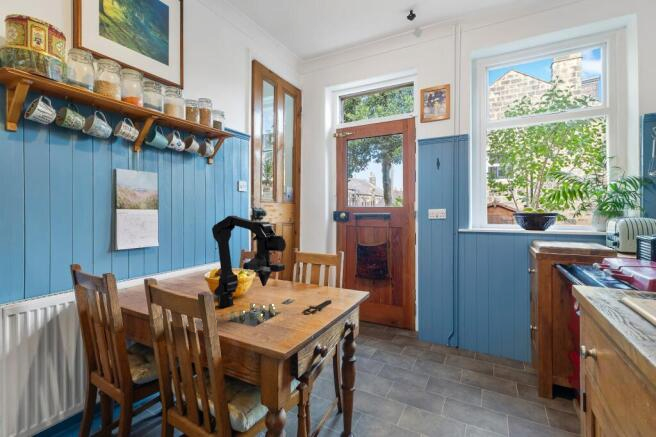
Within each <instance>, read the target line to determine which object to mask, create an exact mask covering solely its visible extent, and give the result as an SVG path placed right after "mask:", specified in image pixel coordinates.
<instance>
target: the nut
mask: <svg viewBox="0 0 656 437" xmlns="http://www.w3.org/2000/svg"><path fill="white" fill-rule="evenodd" d="M259 309H260V308H258V309H256V308H255V310H251V311H250V310H249V311H250V318H253V319H256V318H257V314H258V313H261V310H259Z"/></svg>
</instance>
